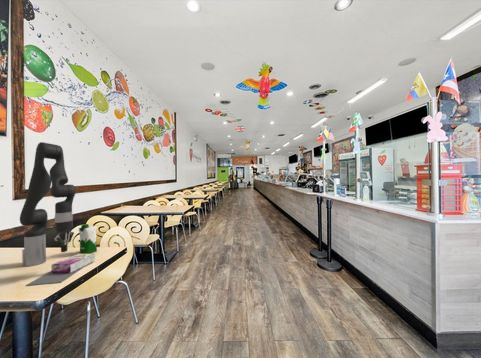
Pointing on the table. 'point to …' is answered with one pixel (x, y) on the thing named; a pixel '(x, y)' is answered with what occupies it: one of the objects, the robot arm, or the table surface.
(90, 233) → the milk carton
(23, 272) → the table surface
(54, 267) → the candy bar box
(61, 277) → the mat
